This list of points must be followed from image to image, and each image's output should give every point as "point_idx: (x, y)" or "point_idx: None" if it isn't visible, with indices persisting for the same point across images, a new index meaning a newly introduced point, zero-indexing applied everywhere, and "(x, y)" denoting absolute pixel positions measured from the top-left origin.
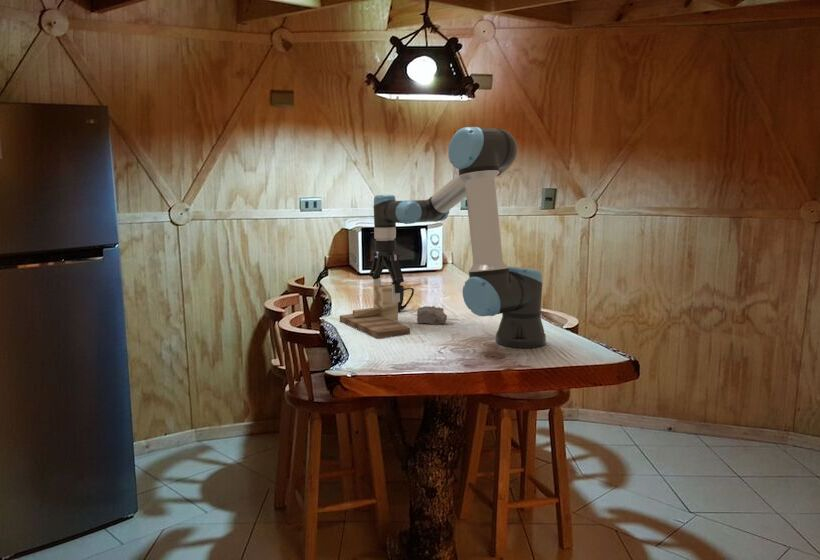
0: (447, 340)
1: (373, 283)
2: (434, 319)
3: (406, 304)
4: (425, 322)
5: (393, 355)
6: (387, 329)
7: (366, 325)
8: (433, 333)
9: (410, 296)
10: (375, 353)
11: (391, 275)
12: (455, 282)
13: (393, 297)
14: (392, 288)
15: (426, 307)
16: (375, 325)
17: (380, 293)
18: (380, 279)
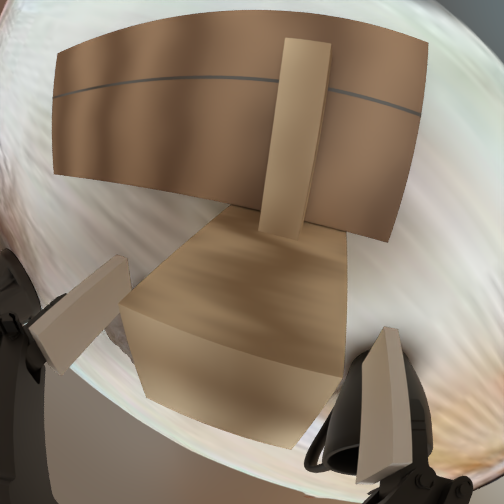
0: (25, 204)
1: (408, 424)
2: None
3: (333, 408)
4: None
5: (11, 56)
6: (61, 95)
7: (133, 40)
8: (60, 224)
9: (320, 440)
10: (27, 26)
11: (2, 389)
12: None
13: (94, 273)
14: (57, 310)
15: (122, 341)
16: (113, 76)
17: (193, 287)
18: (358, 478)
